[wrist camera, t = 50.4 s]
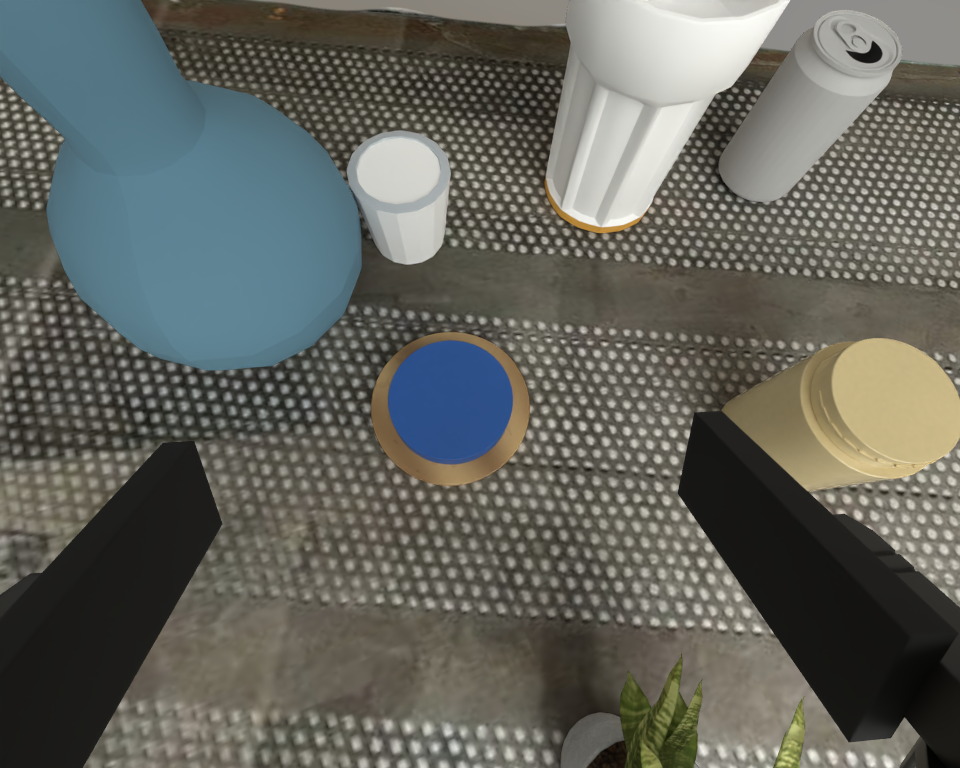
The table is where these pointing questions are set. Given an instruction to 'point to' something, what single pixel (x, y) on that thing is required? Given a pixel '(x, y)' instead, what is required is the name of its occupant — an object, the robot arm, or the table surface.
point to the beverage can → (809, 103)
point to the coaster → (448, 472)
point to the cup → (641, 96)
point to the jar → (852, 414)
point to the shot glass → (402, 193)
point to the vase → (180, 192)
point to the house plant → (655, 732)
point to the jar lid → (450, 402)
